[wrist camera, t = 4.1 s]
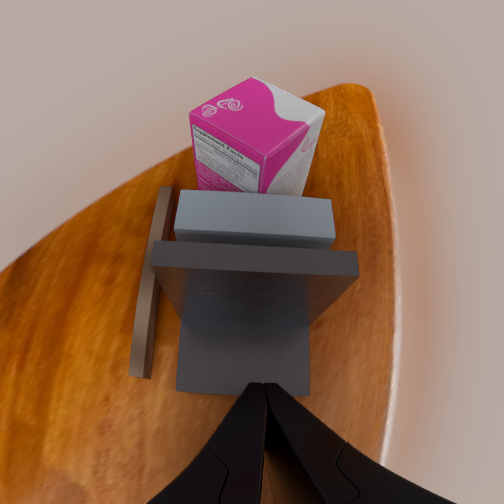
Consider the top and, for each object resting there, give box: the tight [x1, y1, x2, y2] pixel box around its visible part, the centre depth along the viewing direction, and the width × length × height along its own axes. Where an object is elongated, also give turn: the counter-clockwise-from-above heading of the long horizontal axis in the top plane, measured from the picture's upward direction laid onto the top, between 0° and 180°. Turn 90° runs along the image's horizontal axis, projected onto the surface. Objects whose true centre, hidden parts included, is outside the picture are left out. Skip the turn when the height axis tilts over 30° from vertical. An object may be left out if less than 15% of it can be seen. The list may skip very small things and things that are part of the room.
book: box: [174, 190, 336, 250], centre depth 19 cm, size 2×8×9 cm, turn 88°
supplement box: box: [189, 77, 325, 197], centre depth 21 cm, size 6×6×11 cm
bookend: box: [150, 240, 359, 396], centre depth 16 cm, size 6×9×10 cm
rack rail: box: [129, 186, 175, 379], centre depth 22 cm, size 15×1×2 cm, turn 178°
